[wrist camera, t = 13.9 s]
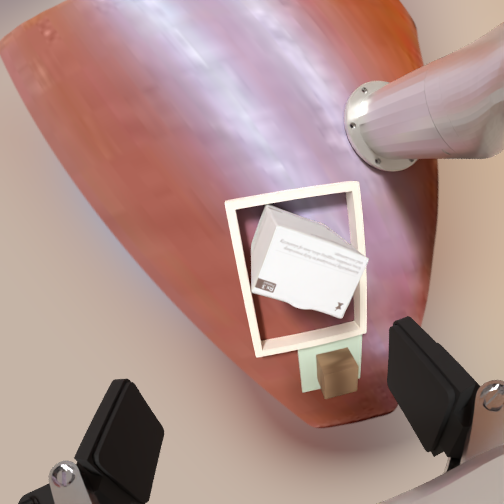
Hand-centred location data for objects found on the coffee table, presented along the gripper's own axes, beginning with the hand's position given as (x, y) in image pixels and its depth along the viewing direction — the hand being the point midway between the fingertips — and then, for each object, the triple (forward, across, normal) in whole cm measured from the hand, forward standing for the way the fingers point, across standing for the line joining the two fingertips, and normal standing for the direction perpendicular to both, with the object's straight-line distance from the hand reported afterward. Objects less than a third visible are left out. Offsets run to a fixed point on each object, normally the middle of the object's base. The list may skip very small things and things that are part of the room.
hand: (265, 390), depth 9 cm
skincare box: (+27, -4, +2) cm, 28 cm away
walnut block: (+26, -8, +23) cm, 35 cm away
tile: (+27, -8, +23) cm, 36 cm away
